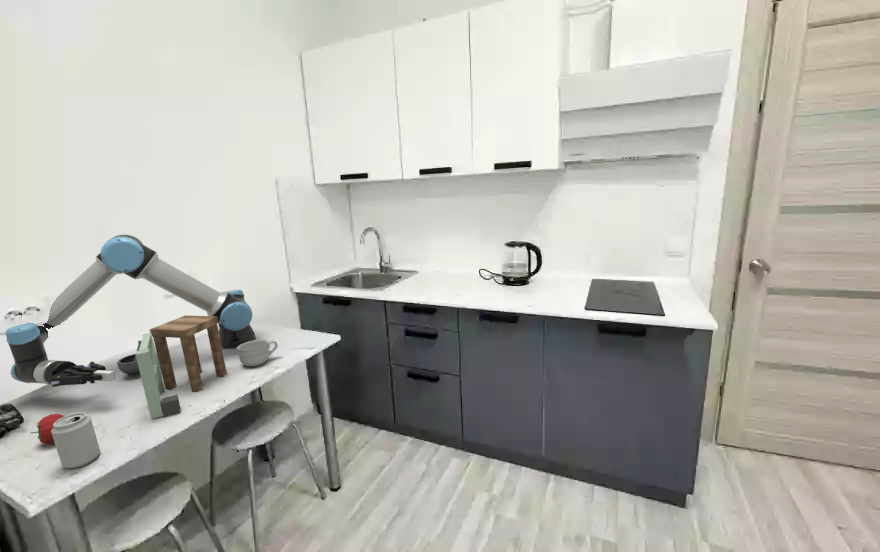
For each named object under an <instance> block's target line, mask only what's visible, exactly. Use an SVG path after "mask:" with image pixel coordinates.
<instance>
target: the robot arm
mask: <svg viewBox="0 0 880 552" xmlns="http://www.w3.org/2000/svg"><path fill="white" fill-rule="evenodd" d="M121 274H124V275H126V276H127V277H130V278H131V279H134V280H139V279H143V280H146V281H147V282H150V283H151V284H153V285H155V286H157V287H158V288H161V289H162V290H165V291H167V292H169V293H170V294H172V295H174V296H176V297H178V298H180V299H182V300H184V301H185V302H187V303H189V304H192V305H193V306H195V307H197V308H199V309H201V310H203V311H205V312H206V316H217V318H218V324H217V325H218V330H219V335H220V340H221V346H222V349H235V348H236V349H237V347H238V346H239V345H241V344H243V343H246V342H249V341H253V340H257V337H256V333H255V331H254V328H252V326H251V322H252V319H253V310H252V307H251V306H250V305H249V304H248V303H247V301H246V299H245V294H244V292H243V290H241V289H232V290H226V291H222V292H221V291H217V290H216V289H215V288H212V287H210V286H209V285H207V284H205V283H204V282H202V281H200V280H198V279H196V278H194V277H193V276H191V275H189V274H187V273H186V272H184V271H182V270H180V269H178V268H177V267H175V266H173V265H171V264H170V263H167V262H166V261H163V259H160V258H159V254H158V252H157V251H155V250H153V249H152V248H150V247H149V246H147V245H145V244H143V242H142V241H141V240H140V239H139V238H137V237H135V236H134V235H129V234H119V235H115V236H113V237H112V238H110V239H108V240H107V241H106V242H104V244H103V245H102V247H101V250H100V252H99V253H98V254H97V255H96V256H95V261H94V262H93V263H92V264H91V265H89V267H87V269H86V270H85V271H83V272H82V273H81V274H80V275H78V277H77V278H76V279H74V280H73V281H72V282H71V283H70V284H69V285H68V286H67V287H66V288H65V289H64V291H63V290H62V291H63V292H62V291H61V292H62V293H61V292H60V293H61V294H60V293H59V294H60V295H59V294H58V295H59V296H58V295H57V296H58V297H57V296H56V297H57V298H56V297H55V298H56V300H55V301H54V302H53V304H52V306H51V309H50V313H49V317H48V318H49V319H48V321H47V323H45V324H43V325H44V327H43V326H37V325H36V324H34V323H28V322H26V323H23V324H17V325H14V326H12V327H9V328H7V329H6V330H5V337H6V342H7V344H8V346H9V349H10V351H11V352H10V353H11V354H12V357H13V360H14V364H12V366H11V370H10V375H11V377H12V378H13V379H14V380H15V381H17V382H22V383H27V384H46V385H51V387H52V388H54V387H61V386H76V385H77V386H78V385H85V384H87V383H88V382H89V384H91V385H92V384H95V383H96V381H99V382H100V381H101V382H102V381H103V382H114V381H115V380H117V377H116V374H115V371H114V370H107V369H106V366H104V365H102V364H99V363H95V361H90V362H89V363H88V364H87V365H85V364H84V365H83V364H79V365H78V364H76V363H74V362H72V361H70V360H57V359H55V360H54V359H51V360H50V359H48V355H47V351H46V349H45V348H46V347H45V345H44V343H45V342H46V341H47V340H48V338H49V337H48V331H47V330H46V328H48V329H50V328H51V327H52V328H53V327H55V326H57V325H60V324H61V323H62V322H64V321H65V320H66V321H68V320H69V319H68V318H69V317H70V316H71V317H72V316H73V315H74V314H75V313H76V312H77V311H78V310H80V309H81V308H82V307H83V306H84V305H85V304H86V303H87V302H88V301H89V300H90V299H91V298H92V297H94V295H96V294H97V293H98V292H99V291H100V290H101V289H102V288H104V286H105V285H107V284H108V283H109V282H110V281H111V280H112V279H114V277H115V276H116V275H121ZM71 317H70V318H71ZM66 321H65V322H66ZM65 322H64V323H65Z"/></svg>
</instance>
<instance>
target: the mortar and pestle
mask: <svg viewBox="0 0 880 552" xmlns="http://www.w3.org/2000/svg"><path fill="white" fill-rule="evenodd" d="M141 341H142V340H138V342H137V343H138V344H137V345H138V346H137V348H136V351H139V348H140V345H141ZM135 354H136V353H134V354H130V355H126V356H123V357H122V358H120V359H118V360H117V362H116V364H117V367H118V369H119V371H120V372H122V373H123V374H126V378H127V379H129V380H135V379H139V378H141V375H140V371H139V367H138V363H137V359H136V355H135Z"/></svg>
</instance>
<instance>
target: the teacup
mask: <svg viewBox="0 0 880 552" xmlns="http://www.w3.org/2000/svg"><path fill="white" fill-rule="evenodd" d="M271 344H274V347H273V348H272V349H271V350H270V346H271ZM277 349H278V342H277V341H276V340H274V339H273V340H272V339H271V340H270V341H268V340H267V339H255V340H253V341H249V342H246V343H243V344H241V345H239V346H238V347H236V350H237V354H238V357H239V361H240V363H241V364H242V365H245V366H247V367H252V366H253V367H258V366H260V365H262V364H264V363H266V361H267V360H268V359H269V358H270V357H271V356H272V354H273V353H274V352H275V351H276V350H277Z"/></svg>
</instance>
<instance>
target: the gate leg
mask: <svg viewBox="0 0 880 552" xmlns="http://www.w3.org/2000/svg"><path fill="white" fill-rule="evenodd" d="M140 341H141V345H140V348H139V351H137V350H136V351H135V353H134V354H135V355H136V359H137V363H138V367H139V371H140V375H141V377H140V378H141V383H142V386H143V390H144V395H145V398H146V402H147V407H148V409H149V415H150V418H151V420H152V419H156V418H160V417H164V413H163V409H162V404H161V403H162V397H161V394H164V393H166V390H165V386H164V382H163V377H162V373H161V369H160V365H159V360H158V356H157V352H156V348H155V343H154V339H153V337H152V334H151V333H145V334H142V338H141V340H140Z"/></svg>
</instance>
